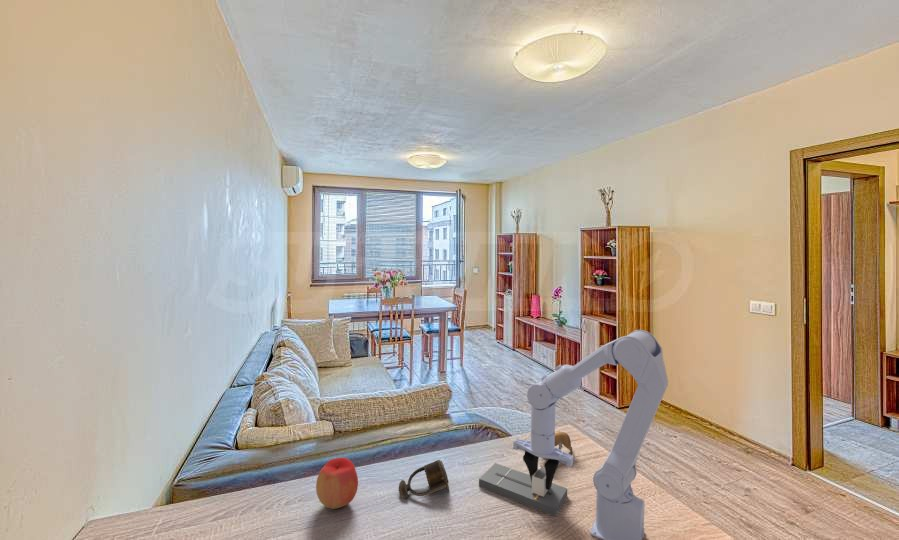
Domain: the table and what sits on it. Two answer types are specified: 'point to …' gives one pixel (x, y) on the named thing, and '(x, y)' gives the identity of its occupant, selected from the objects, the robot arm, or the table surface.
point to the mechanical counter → (434, 477)
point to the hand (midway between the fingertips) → (541, 484)
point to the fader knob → (539, 482)
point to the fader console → (522, 489)
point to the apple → (337, 483)
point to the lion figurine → (563, 441)
